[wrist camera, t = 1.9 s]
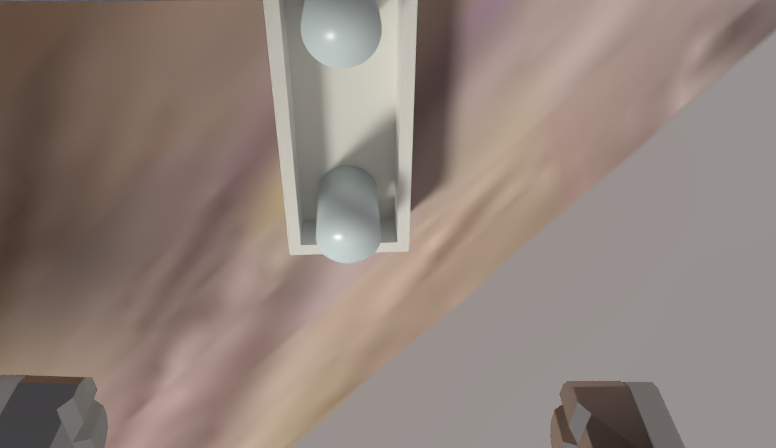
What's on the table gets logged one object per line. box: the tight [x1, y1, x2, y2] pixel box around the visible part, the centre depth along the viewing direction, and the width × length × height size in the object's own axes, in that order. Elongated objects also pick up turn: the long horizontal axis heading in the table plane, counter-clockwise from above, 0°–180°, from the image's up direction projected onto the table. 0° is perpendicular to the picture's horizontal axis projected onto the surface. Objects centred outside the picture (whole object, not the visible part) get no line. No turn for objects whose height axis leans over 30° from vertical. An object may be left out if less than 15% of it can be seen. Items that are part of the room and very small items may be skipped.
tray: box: [263, 0, 418, 263], centre depth 28 cm, size 14×6×5 cm, turn 0°
